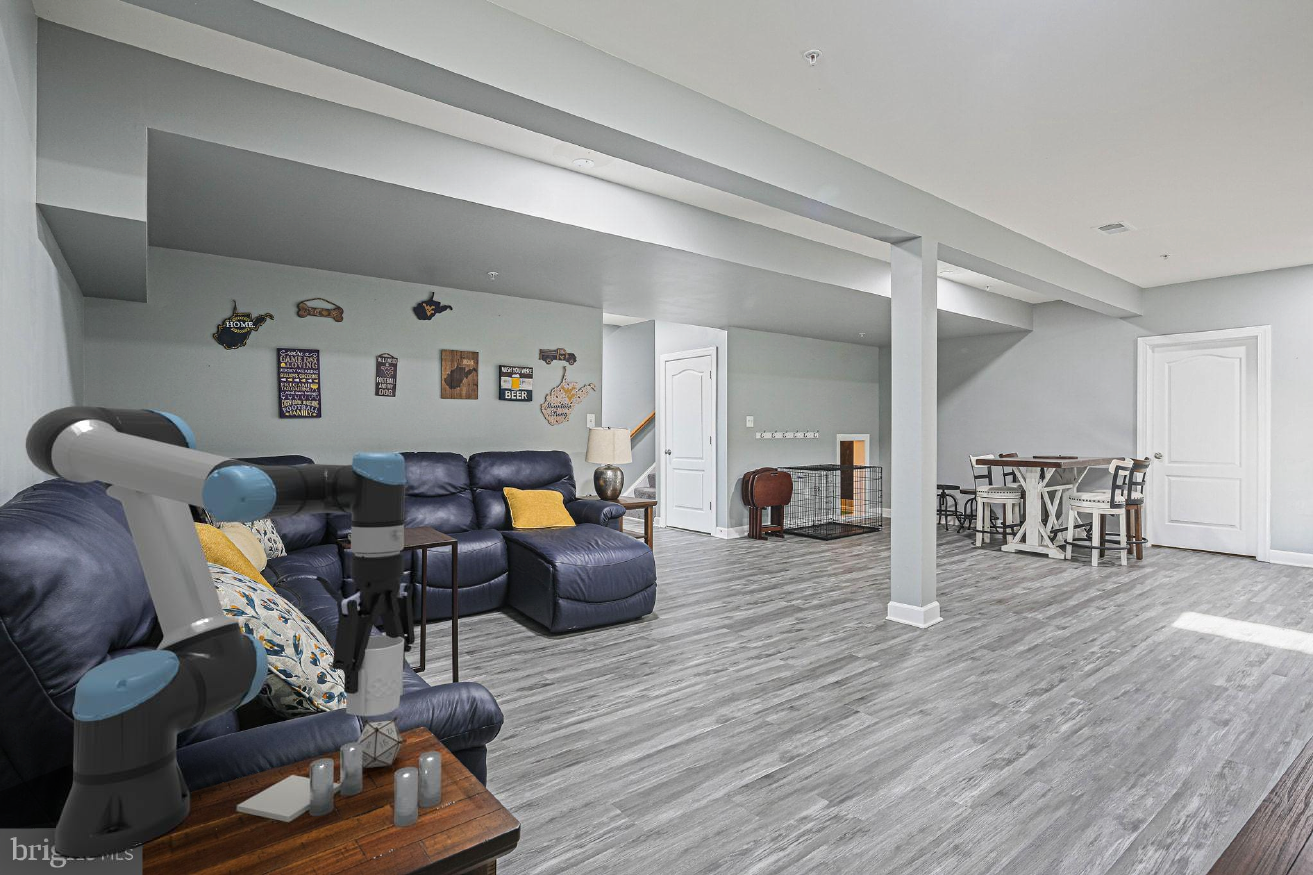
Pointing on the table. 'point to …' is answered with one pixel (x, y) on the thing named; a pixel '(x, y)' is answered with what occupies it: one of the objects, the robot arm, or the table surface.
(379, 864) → the table surface
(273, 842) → the table surface
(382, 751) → the game die
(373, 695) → the white cup
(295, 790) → the coaster
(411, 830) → the table surface
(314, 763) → the spacer posts
